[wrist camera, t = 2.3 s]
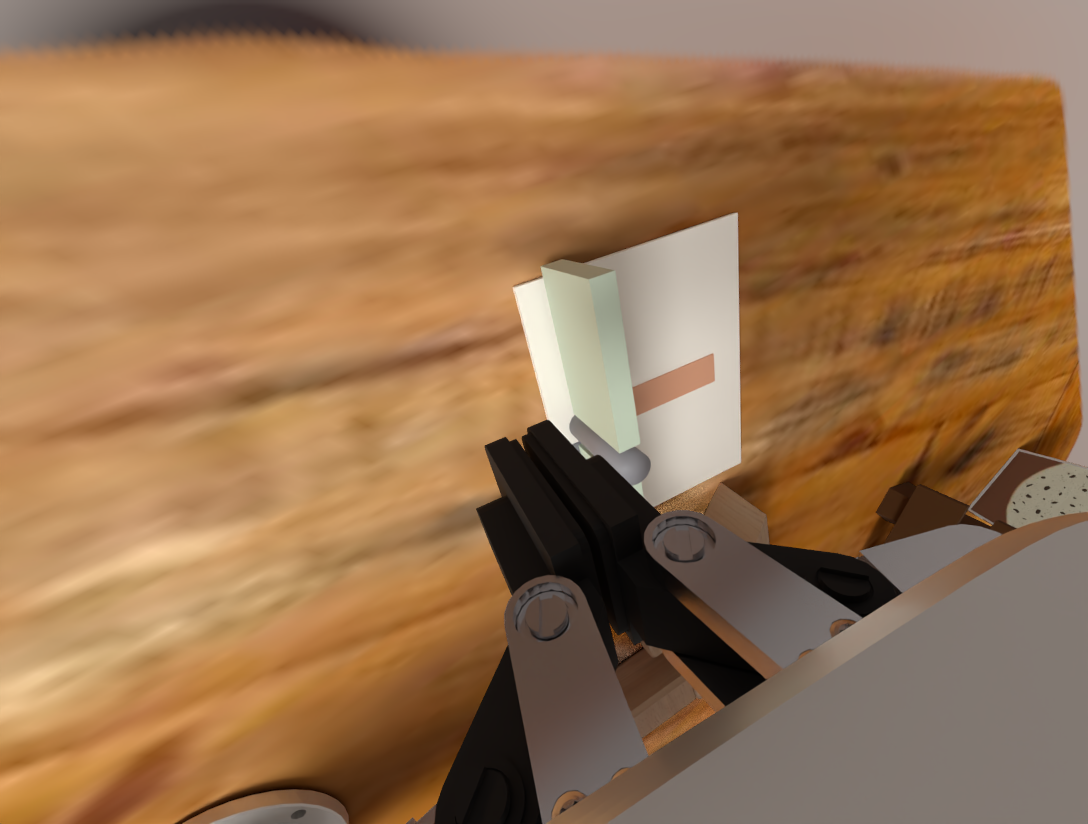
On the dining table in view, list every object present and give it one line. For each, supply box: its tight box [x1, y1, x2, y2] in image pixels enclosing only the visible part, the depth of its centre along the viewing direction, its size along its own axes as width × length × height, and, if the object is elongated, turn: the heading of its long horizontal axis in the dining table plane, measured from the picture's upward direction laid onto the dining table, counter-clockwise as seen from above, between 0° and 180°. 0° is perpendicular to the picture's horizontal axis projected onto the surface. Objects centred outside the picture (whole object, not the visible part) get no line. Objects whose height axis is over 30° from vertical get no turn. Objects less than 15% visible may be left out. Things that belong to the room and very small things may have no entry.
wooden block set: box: [615, 482, 770, 739], centre depth 36 cm, size 17×6×18 cm
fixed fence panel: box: [569, 415, 651, 497], centre depth 27 cm, size 10×2×6 cm, turn 14°
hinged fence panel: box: [541, 259, 641, 453], centre depth 22 cm, size 8×1×5 cm, turn 14°
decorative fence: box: [876, 482, 1017, 544], centre depth 46 cm, size 34×6×15 cm, turn 171°
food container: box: [968, 449, 1088, 528], centre depth 52 cm, size 12×6×10 cm, turn 142°
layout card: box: [513, 213, 741, 507], centre depth 28 cm, size 18×14×1 cm
